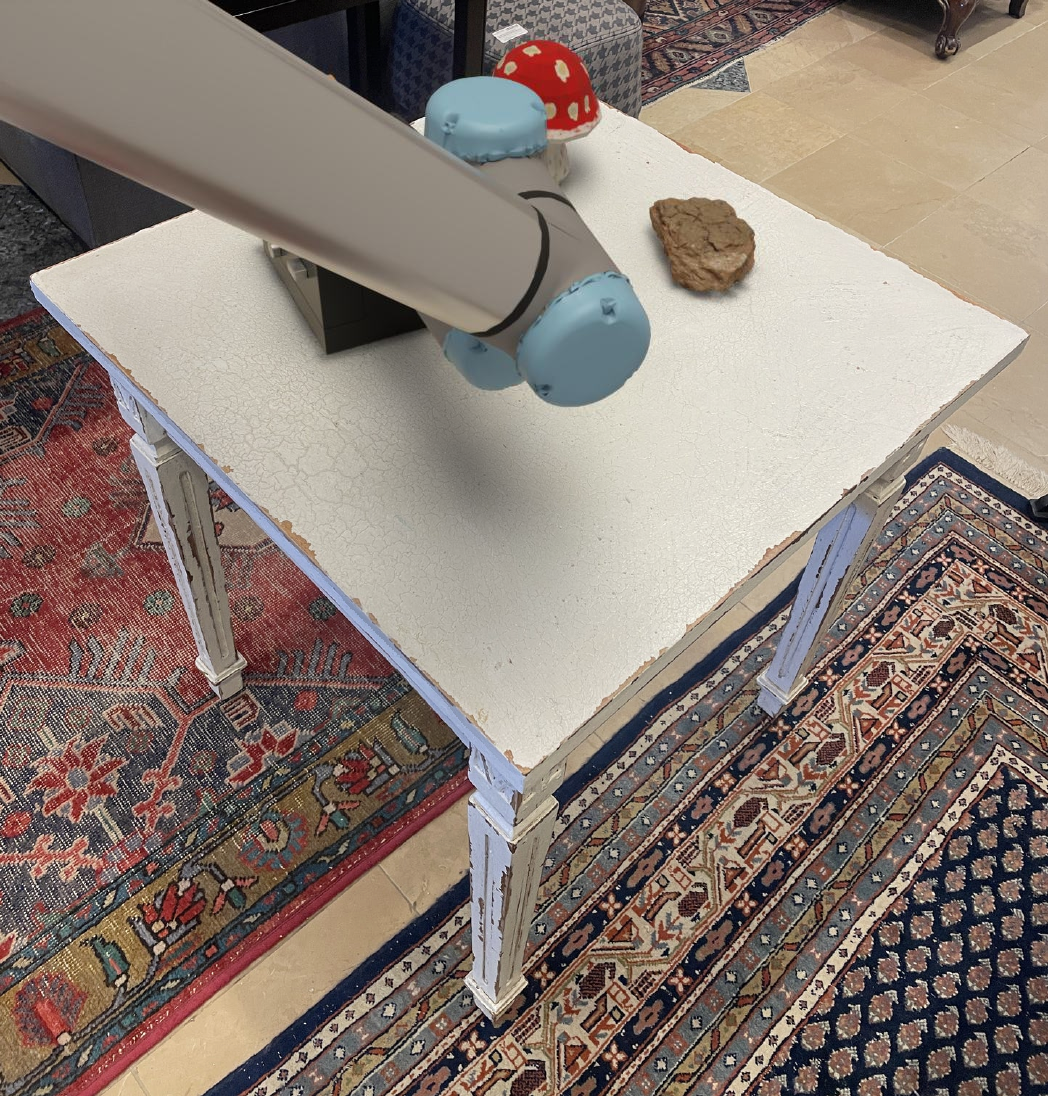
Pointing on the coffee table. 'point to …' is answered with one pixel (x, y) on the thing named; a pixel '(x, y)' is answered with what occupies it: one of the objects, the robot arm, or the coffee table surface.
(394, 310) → the toaster
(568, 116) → the decorative mushroom
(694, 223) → the rock
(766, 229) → the coffee table surface
